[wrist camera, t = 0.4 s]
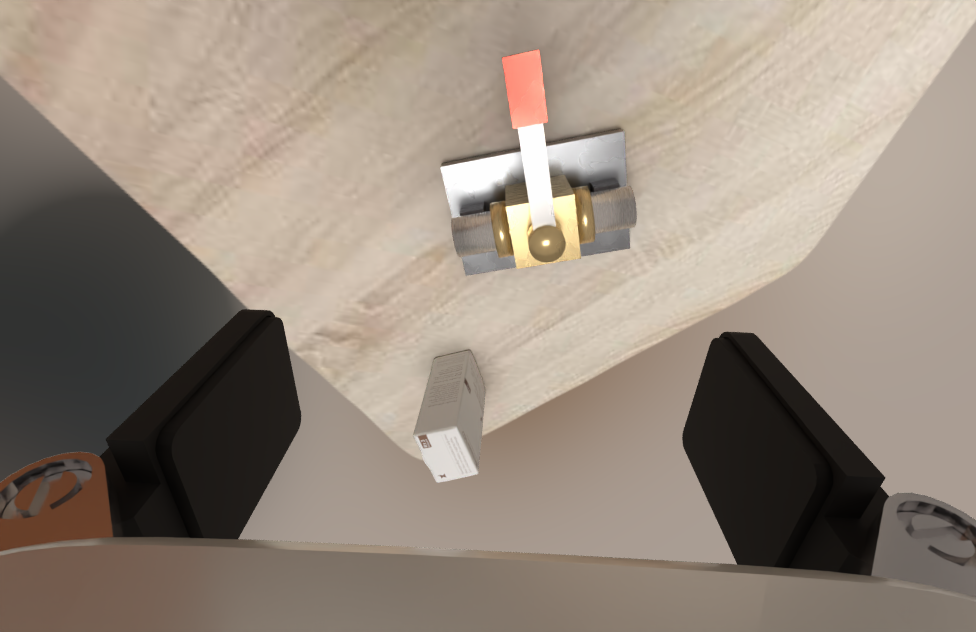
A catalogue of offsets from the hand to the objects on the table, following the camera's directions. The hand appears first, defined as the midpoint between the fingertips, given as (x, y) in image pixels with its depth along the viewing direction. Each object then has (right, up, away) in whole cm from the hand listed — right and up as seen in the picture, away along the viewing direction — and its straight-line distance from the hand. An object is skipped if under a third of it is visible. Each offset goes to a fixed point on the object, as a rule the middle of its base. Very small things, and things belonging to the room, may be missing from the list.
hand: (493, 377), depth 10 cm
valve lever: (+3, +12, +22) cm, 25 cm away
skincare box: (-3, -5, +41) cm, 41 cm away
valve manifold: (+4, +11, +31) cm, 34 cm away
